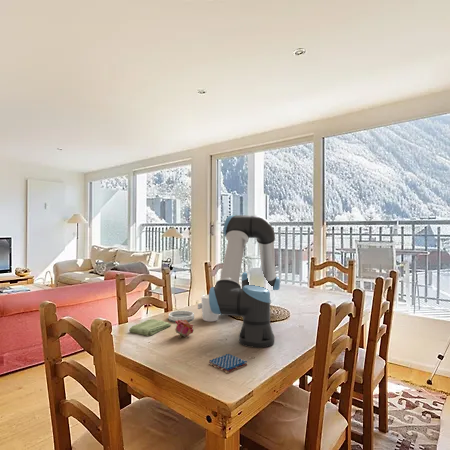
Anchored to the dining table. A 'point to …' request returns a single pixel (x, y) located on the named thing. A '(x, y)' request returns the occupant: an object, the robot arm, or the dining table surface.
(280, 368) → the dining table surface
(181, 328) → the flower
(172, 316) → the grey round dish
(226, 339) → the dining table surface
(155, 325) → the washcloth
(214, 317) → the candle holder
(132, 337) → the dining table surface
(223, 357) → the woven mat
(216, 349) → the dining table surface
